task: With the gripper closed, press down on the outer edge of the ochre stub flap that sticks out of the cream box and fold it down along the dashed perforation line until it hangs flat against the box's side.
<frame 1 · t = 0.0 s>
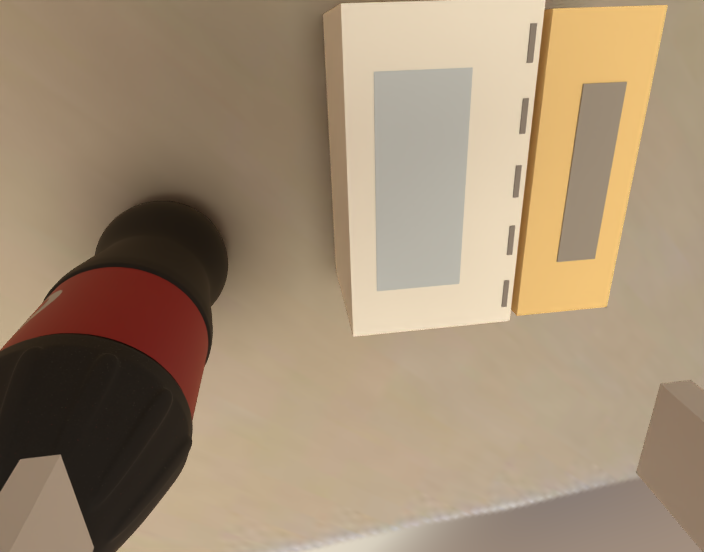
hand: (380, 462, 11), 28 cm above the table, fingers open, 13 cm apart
cream box: (398, 151, 37), on the table
stub: (578, 175, 29), point 10 cm above the table, hinge at 0.0°
cola bottle: (173, 246, 38), on the table
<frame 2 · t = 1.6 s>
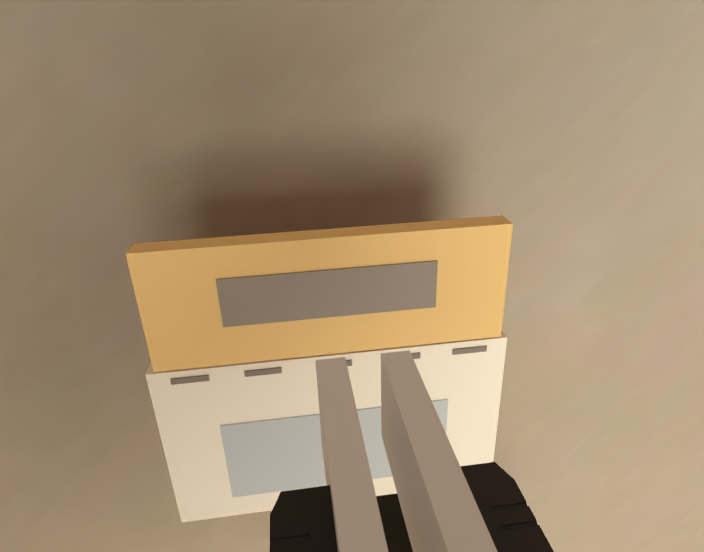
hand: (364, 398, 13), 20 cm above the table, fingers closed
cream box: (322, 336, 36), on the table
stub: (329, 293, 24), point 10 cm above the table, hinge at 0.0°
cola bottle: (401, 495, 44), on the table
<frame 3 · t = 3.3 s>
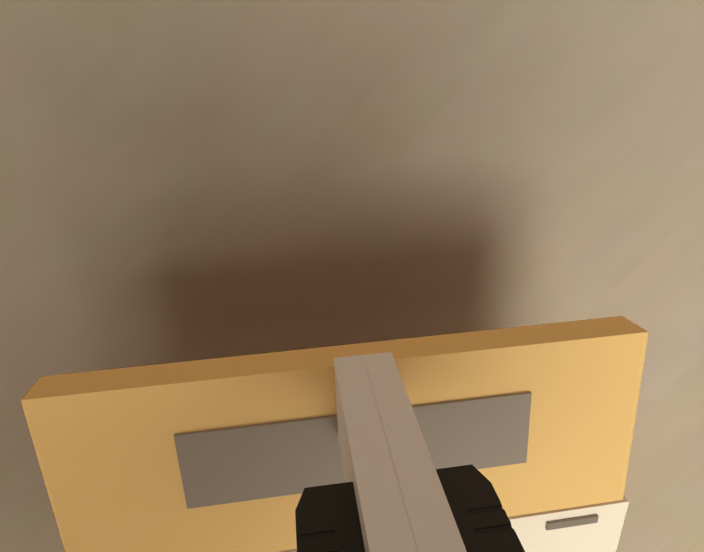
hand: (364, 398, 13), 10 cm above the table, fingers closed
cream box: (336, 441, 27), on the table
stub: (358, 444, 15), point 9 cm above the table, hinge at 6.1°, touching gripper
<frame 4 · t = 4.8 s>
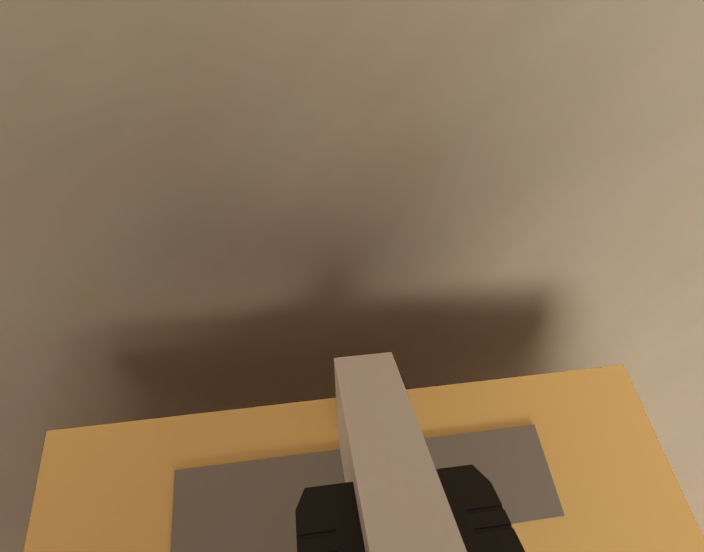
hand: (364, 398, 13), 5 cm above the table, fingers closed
stub: (368, 509, 14), point 6 cm above the table, hinge at 57.9°, touching gripper
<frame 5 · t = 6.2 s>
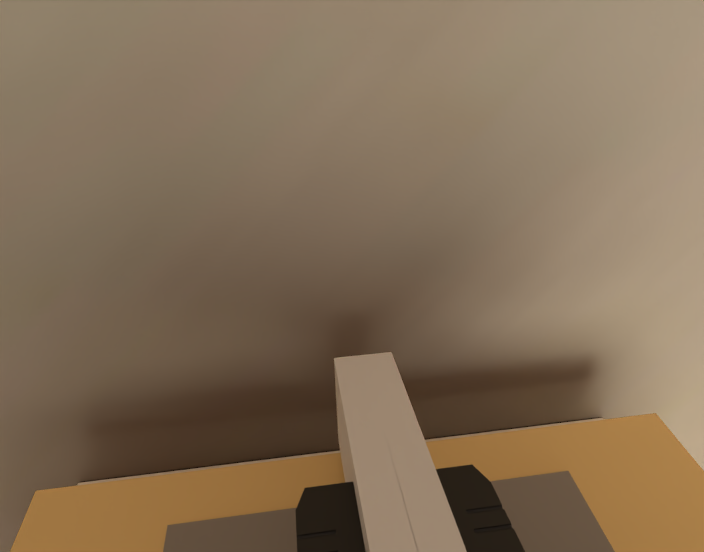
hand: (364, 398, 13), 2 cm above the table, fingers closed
cream box: (359, 548, 19), on the table
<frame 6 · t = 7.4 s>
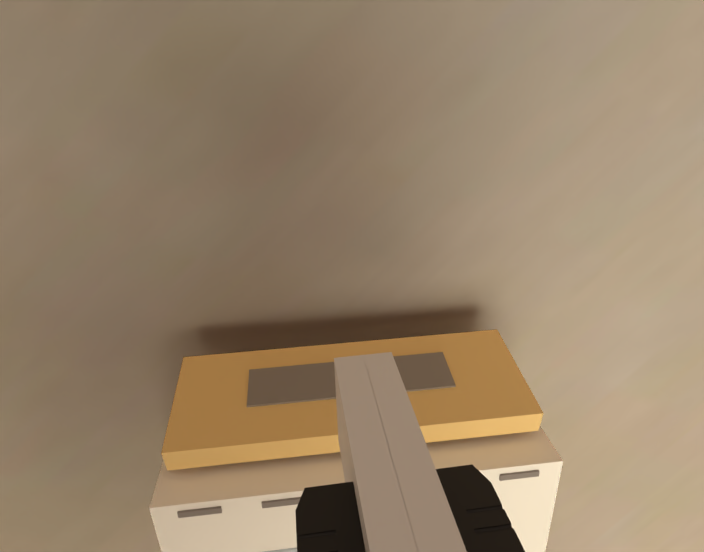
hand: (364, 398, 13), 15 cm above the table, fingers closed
cream box: (344, 418, 33), on the table
stub: (351, 391, 25), point 6 cm above the table, hinge at 81.6°
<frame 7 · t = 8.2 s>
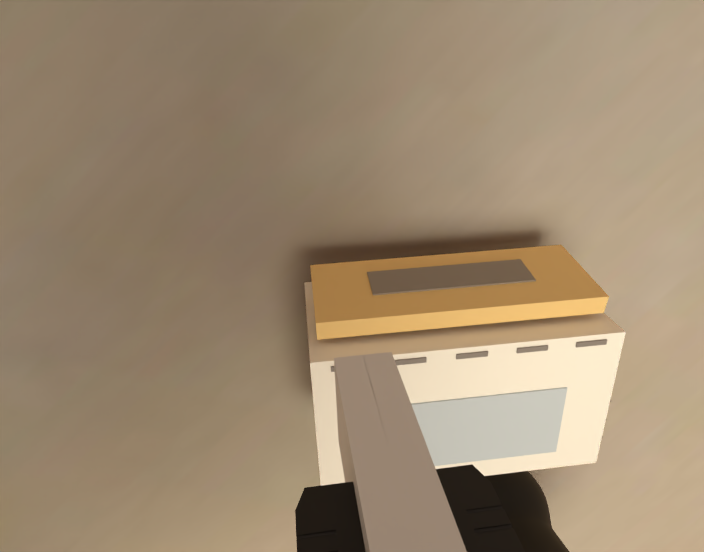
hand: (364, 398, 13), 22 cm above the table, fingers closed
cream box: (425, 330, 39), on the table
stub: (450, 287, 31), point 6 cm above the table, hinge at 81.6°
cola bottle: (483, 479, 47), on the table
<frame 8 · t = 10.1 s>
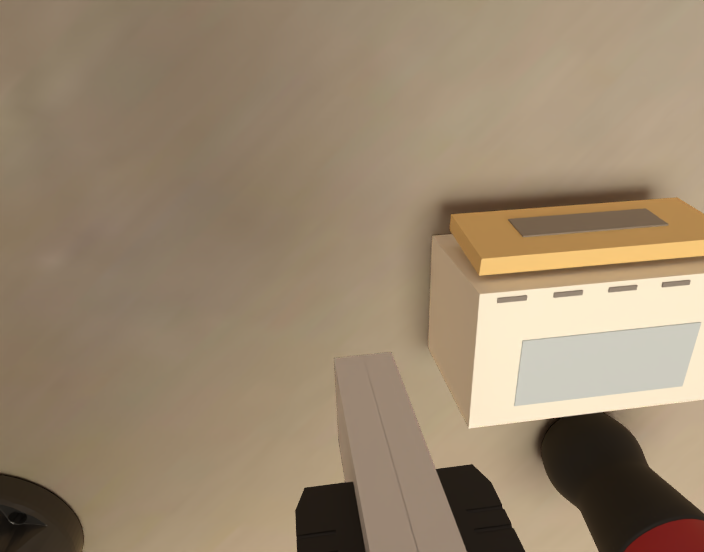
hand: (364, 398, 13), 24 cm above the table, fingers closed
cream box: (536, 284, 42), on the table
stub: (587, 232, 34), point 6 cm above the table, hinge at 81.6°
cola bottle: (572, 434, 50), on the table
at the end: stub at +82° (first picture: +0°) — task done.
